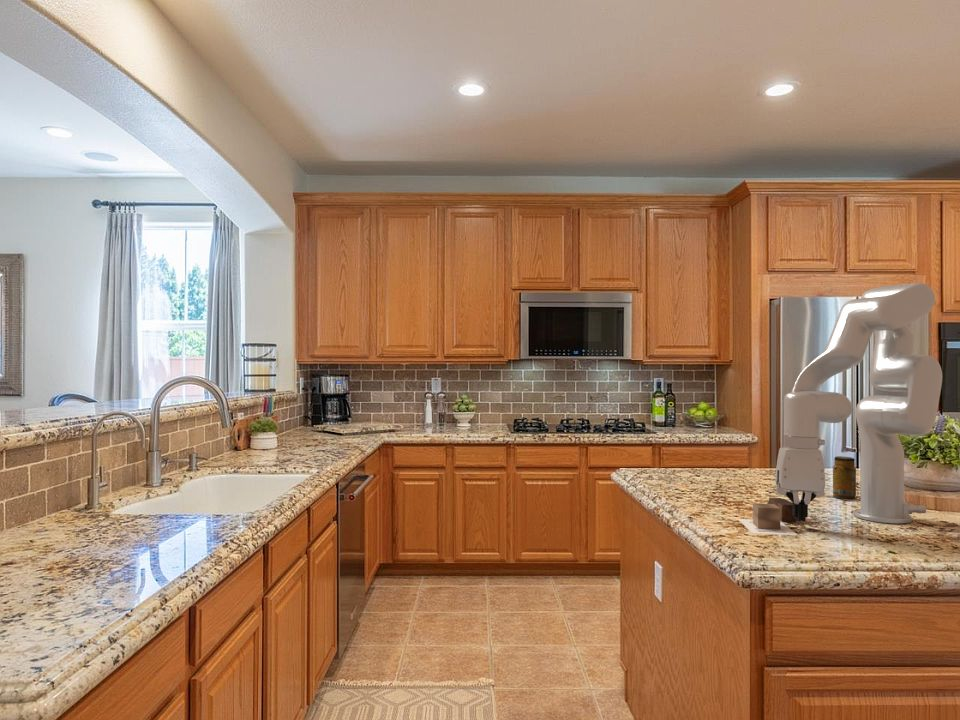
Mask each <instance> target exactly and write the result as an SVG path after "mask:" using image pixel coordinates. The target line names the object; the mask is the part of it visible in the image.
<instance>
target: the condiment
mask: <svg viewBox="0 0 960 720" xmlns="http://www.w3.org/2000/svg"><path fill="white" fill-rule="evenodd" d="M833 460H834V462H833V463H834V465H833V466H832V494H826V496H827V497H829V498H835V499H838V500H839V499H840V498H841V499H840V500H844V501H849V502H852V501H854V502H857V501H858V502H859V500H860V501H861V497H858V496H857V467H856V466H855V464H856V463H855V460H856V459H855V458H854V457H851V456H840V455H838V456H834V459H833ZM856 497H857V498H859V499H856Z"/></svg>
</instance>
